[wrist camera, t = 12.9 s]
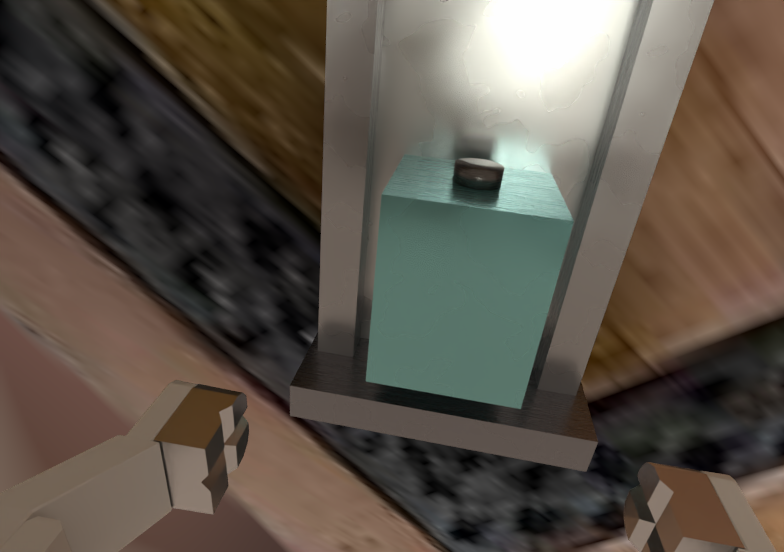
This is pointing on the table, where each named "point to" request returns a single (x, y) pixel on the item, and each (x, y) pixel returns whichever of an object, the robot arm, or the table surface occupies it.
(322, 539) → the table surface
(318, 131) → the table surface
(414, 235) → the block
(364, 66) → the guide channel
